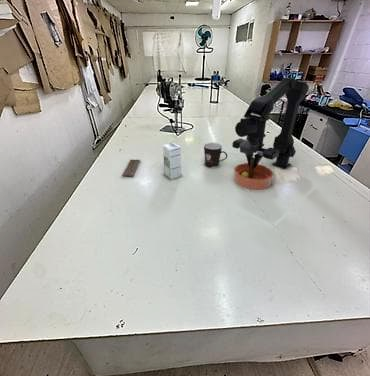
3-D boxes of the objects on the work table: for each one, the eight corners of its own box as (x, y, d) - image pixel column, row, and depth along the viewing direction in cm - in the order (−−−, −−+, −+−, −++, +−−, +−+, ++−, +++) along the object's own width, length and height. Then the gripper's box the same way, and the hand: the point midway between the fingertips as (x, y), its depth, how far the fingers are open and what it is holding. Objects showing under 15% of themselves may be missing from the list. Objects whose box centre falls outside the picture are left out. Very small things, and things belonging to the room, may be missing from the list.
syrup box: (181, 176, 105) (181, 146, 99) (170, 179, 102) (169, 148, 96) (174, 171, 109) (174, 142, 103) (163, 174, 106) (162, 144, 100)
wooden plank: (133, 174, 103) (122, 174, 103) (133, 177, 104) (122, 176, 104) (139, 159, 119) (130, 159, 118) (140, 162, 119) (130, 161, 119)
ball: (245, 175, 105) (246, 169, 103) (249, 179, 102) (250, 173, 101) (239, 176, 104) (240, 171, 102) (243, 180, 101) (244, 175, 100)
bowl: (246, 169, 112) (247, 160, 110) (277, 182, 101) (279, 171, 99) (226, 180, 102) (227, 170, 100) (258, 195, 91) (260, 184, 89)
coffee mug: (199, 162, 118) (200, 144, 114) (214, 160, 121) (215, 141, 117) (211, 172, 108) (213, 152, 104) (227, 169, 112) (229, 149, 108)
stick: (250, 175, 104) (252, 156, 100) (253, 177, 102) (256, 158, 99) (247, 177, 103) (249, 158, 99) (251, 178, 101) (254, 159, 98)
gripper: (225, 130, 95) (222, 165, 102) (268, 142, 83) (261, 181, 89) (241, 125, 102) (238, 158, 109) (282, 136, 90) (276, 172, 96)
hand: (252, 166), depth 101 cm, fingers closed on stick, 2 cm apart
